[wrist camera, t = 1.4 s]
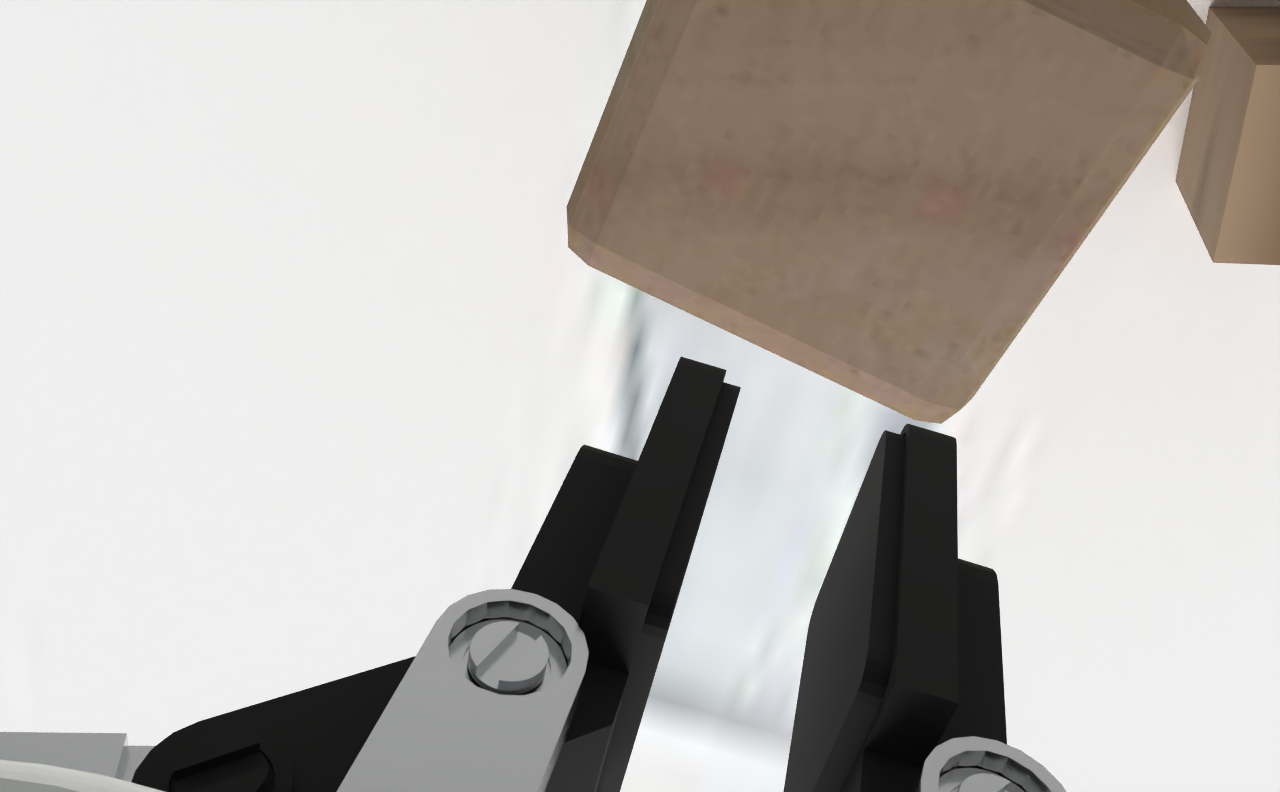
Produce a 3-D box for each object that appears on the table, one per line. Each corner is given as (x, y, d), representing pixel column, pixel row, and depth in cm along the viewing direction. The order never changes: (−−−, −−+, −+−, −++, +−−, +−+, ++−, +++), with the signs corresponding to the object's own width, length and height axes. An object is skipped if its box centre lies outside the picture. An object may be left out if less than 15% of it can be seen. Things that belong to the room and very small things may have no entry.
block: (827, -258, 36) (722, -215, 19) (1111, -121, 36) (1249, 39, 19) (703, 34, 41) (538, 262, 25) (949, 151, 41) (948, 455, 25)
